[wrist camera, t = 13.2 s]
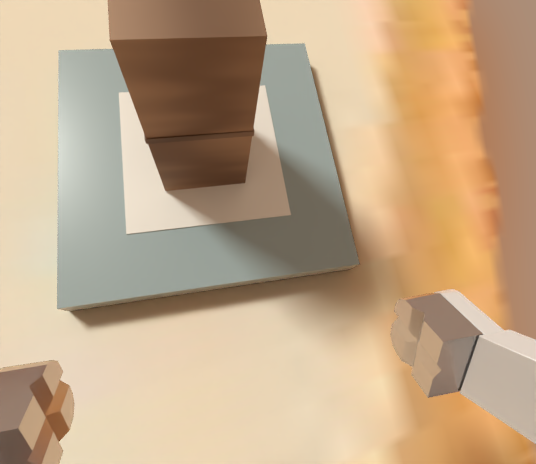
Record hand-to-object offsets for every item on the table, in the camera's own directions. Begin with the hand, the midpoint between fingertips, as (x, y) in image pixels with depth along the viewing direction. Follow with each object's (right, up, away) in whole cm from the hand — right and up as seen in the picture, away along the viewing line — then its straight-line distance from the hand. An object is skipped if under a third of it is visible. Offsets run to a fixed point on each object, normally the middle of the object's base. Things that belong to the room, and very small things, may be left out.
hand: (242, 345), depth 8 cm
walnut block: (-3, +7, +10) cm, 12 cm away
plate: (-3, +7, +11) cm, 13 cm away
